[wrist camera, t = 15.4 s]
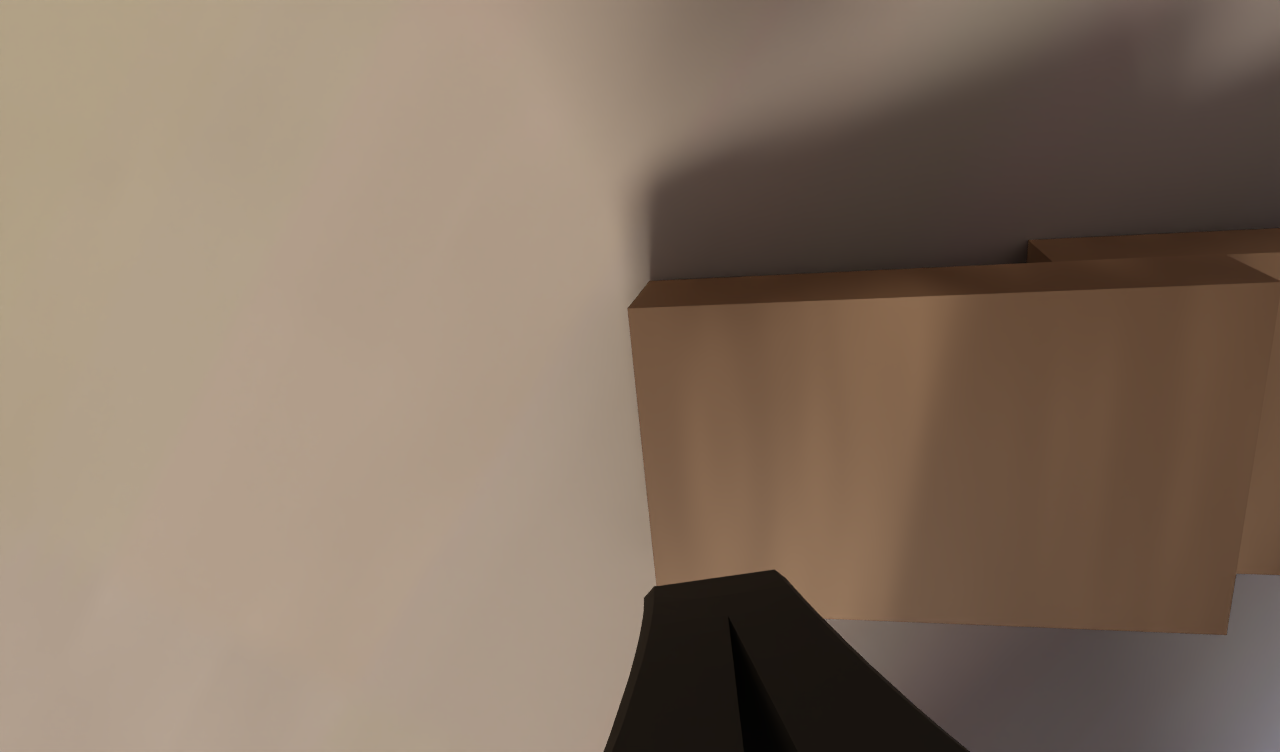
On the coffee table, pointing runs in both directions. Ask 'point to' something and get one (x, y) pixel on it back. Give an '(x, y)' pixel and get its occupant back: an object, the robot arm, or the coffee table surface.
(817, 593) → the domino
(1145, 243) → the domino
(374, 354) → the coffee table surface
